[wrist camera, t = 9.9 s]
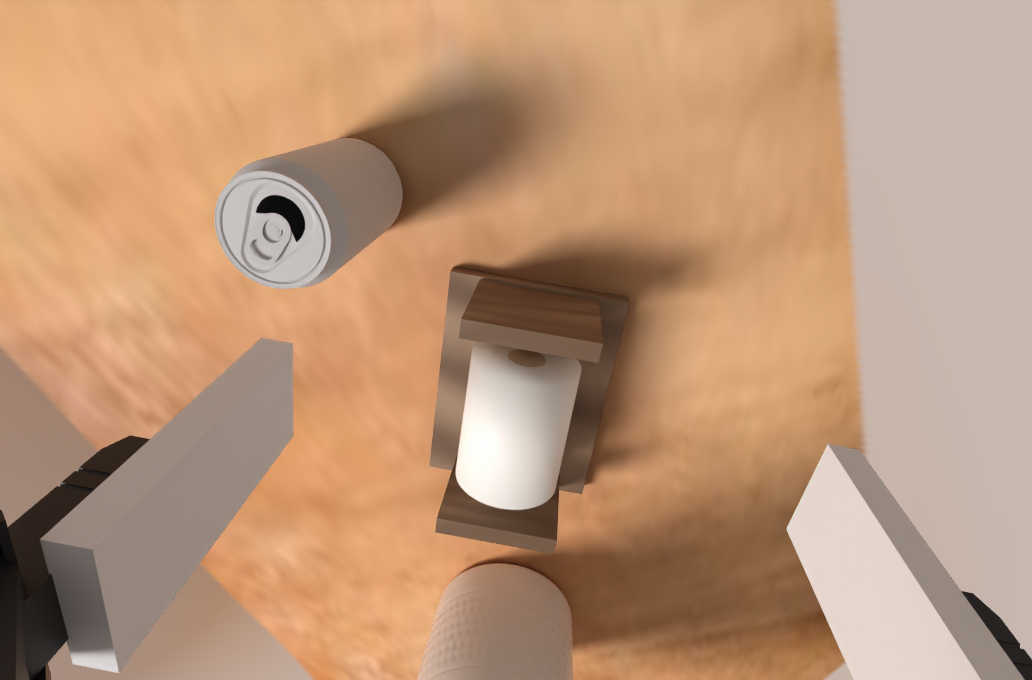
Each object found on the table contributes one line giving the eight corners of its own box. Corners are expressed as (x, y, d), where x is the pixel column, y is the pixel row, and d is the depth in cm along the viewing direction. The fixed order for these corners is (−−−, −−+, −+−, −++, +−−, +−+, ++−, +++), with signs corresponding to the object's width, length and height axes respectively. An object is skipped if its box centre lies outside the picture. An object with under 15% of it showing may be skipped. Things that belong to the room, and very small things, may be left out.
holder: (453, 266, 40) (426, 309, 33) (628, 297, 40) (639, 347, 33) (432, 458, 47) (405, 528, 40) (581, 485, 47) (582, 561, 39)
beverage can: (424, 179, 38) (363, 221, 27) (373, 255, 40) (297, 321, 30) (340, 114, 37) (241, 131, 26) (293, 196, 39) (183, 242, 28)
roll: (481, 328, 41) (462, 370, 34) (581, 346, 41) (582, 392, 34) (465, 441, 44) (445, 499, 38) (557, 459, 44) (553, 520, 38)
